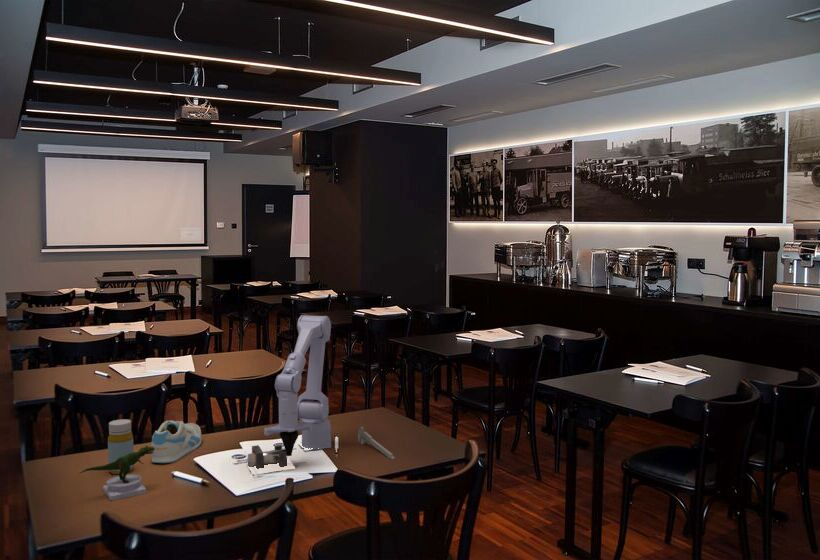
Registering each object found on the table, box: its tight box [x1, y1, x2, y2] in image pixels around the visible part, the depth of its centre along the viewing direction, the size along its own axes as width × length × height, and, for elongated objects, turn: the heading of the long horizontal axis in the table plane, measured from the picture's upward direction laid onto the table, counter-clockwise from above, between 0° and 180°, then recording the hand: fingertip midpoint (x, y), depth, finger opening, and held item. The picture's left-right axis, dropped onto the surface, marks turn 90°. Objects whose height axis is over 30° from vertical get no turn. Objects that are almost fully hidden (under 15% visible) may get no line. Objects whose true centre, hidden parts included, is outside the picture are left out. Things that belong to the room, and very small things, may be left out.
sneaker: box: [150, 420, 202, 464], centre depth 222 cm, size 10×27×11 cm, turn 176°
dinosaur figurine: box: [79, 445, 154, 501], centre depth 187 cm, size 9×20×12 cm, turn 126°
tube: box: [247, 448, 285, 467], centre depth 207 cm, size 11×4×4 cm, turn 114°
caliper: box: [357, 426, 396, 460], centre depth 223 cm, size 20×1×6 cm, turn 37°
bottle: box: [107, 418, 135, 475], centre depth 204 cm, size 7×7×15 cm
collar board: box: [251, 444, 288, 469], centre depth 207 cm, size 13×9×6 cm
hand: (288, 455), depth 209 cm, fingers closed
